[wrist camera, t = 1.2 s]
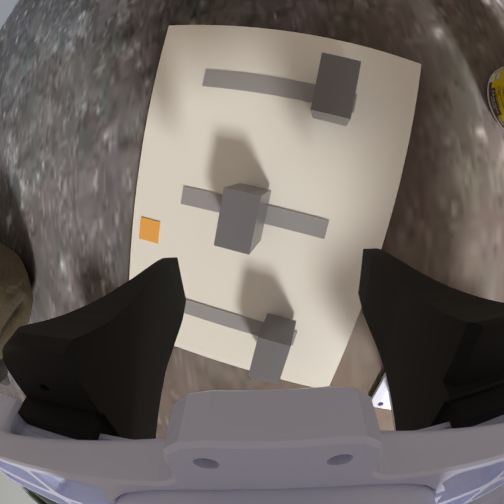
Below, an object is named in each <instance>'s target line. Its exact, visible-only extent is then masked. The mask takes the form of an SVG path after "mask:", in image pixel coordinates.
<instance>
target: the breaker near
mask: <svg viewBox="0 0 504 504" xmlns="http://www.w3.org/2000/svg"><path fill="white" fill-rule="evenodd" d="M360 65H361V61H358V60H354V59H350V58H346V57H341V56H337V55H332V54H328V53H323V52H322V54H321V59H320V64H319V70H318V75H317V80H316V85H315V90H314V95H313V100H312V104H311V109H310V110H311V114H312V117H313V118H314V119H319V120H323V121H327V122H331V123H335V124H339V125H343V126H347V124H348V122H349V121H350V119H351V114H352V109H353V104H354V99H355V94H356V88H357V83H358V77H359V71H360Z"/></svg>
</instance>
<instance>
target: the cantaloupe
mask: <svg viewBox="0 0 504 504" xmlns="http://www.w3.org/2000/svg"><path fill="white" fill-rule="evenodd" d="M32 302H33V295H32V289H31V285H30V281H29V277H28V274H27V271H26V269H25V266H24V264H23V262H22V260H21V258H20V257H19V256H18V255H17V253H16V252H14V251H13V250H12V249H11V248H9V247H8V246H6V245H4V244H3V243H1V242H0V359H2V358H3V356H2V349H3V347H4V345H5V344H6V343H7V341H8V340H9V339H10V337H11V336H12V335H13V334H14V332H15V331H16V330H17V329H18V327H20V326H25V325H28V322H29V319H30V315H31V310H32Z"/></svg>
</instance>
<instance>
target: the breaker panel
mask: <svg viewBox="0 0 504 504" xmlns="http://www.w3.org/2000/svg"><path fill="white" fill-rule="evenodd" d="M322 52H323V53H328V54H332V55H337V56H341V57H346V58H350V59H354V60H358V61H361V65H360V71H359V77H358V83H357V88H356V94H355V99H354V104H353V109H352V114H351V119H350V121H349V122H348V124H347V126H343V125H339V124H335V123H331V122H327V121H323V120H319V119H314V118H313V117H312V114H311V110H310V109H311V104H312V100H313V95H314V90H315V85H316V80H317V75H318V70H319V64H320V59H321V54H322ZM420 72H421V64H419V63H417V62H414V61H411V60H408V59H405V58H402V57H399V56H396V55H393V54H389V53H386V52H383V51H379V50H376V49H372V48H368V47H364V46H361V45H357V44H353V43H348V42H344V41H340V40H335V39H330V38H325V37H320V36H315V35H309V34H303V33H296V32H290V31H282V30H274V29H265V28H255V27H242V26H224V25H169V27H168V31H167V34H166V38H165V42H164V45H163V49H162V53H161V57H160V61H159V65H158V69H157V74H156V78H155V83H154V87H153V92H152V97H151V102H150V107H149V112H148V117H147V122H146V128H145V134H144V140H143V146H142V153H141V159H140V166H139V174H138V181H137V189H136V198H135V207H134V218H133V229H132V241H131V256H130V276H129V280H131V279H132V278H134V277H135V276H136V275H138V274H139V273H141V272H142V271H143V270H145V269H146V268H148V267H149V266H150V265H152V264H153V263H155V262H156V261H158V260H160V259H162V258H172V257H177V258H178V263H179V268H180V273H181V278H182V283H183V288H184V293H185V297H186V305H185V310H184V315H183V320H182V324H181V327H180V330H179V333H178V335H177V338H176V341H175V344H174V346H177V347H180V348H182V349H185V350H188V351H191V352H194V353H197V354H200V355H203V356H205V357H208V358H212V359H215V360H218V361H221V362H224V363H227V364H230V365H233V366H237V367H240V368H243V369H247V370H250V366H251V362H252V359H253V355H254V351H255V347H256V343H257V339H258V336H259V333H260V331H261V328H262V326H263V323H264V321H265V318H266V316H267V313H270V314H273V315H277V316H281V317H284V318H288V319H292V320H296V325H295V329H294V334H293V339H292V343H291V347H290V351H289V354H288V357H287V360H286V363H285V366H284V369H283V372H282V375H281V378H280V379H282V380H286V381H290V382H294V383H298V384H302V385H306V386H310V387H325V386H329V385H330V383H331V380H332V378H333V376H334V374H335V371H336V369H337V367H338V365H339V362H340V360H341V358H342V355H343V353H344V350H345V348H346V346H347V343H348V341H349V338H350V336H351V333H352V331H353V328H354V326H355V323H356V321H357V318H358V315H359V313H360V310H361V307H362V306H361V303H360V299H359V295H358V291H359V283H360V274H361V265H362V255H363V249H372V248H378V249H381V248H382V245H383V242H384V239H385V235H386V232H387V229H388V225H389V222H390V218H391V214H392V211H393V207H394V203H395V200H396V196H397V192H398V188H399V184H400V180H401V175H402V171H403V167H404V162H405V158H406V153H407V149H408V144H409V139H410V134H411V129H412V123H413V118H414V112H415V106H416V100H417V93H418V86H419V79H420ZM238 183H242V184H247V185H251V186H256V187H260V188H264V189H269V190H271V195H270V200H269V204H268V209H267V214H266V218H265V223H264V228H263V232H262V237H261V241H260V242H259V243H258V244H257V246H256V247H255V248H254V249H253V251H252V252H251V253H250V254H249V255H248V254H244V253H240V252H237V251H233V250H229V249H225V248H222V247H218V246H214V241H215V235H216V229H217V223H218V218H219V212H220V206H221V201H222V195H223V190H224V187H227V186H231V185H234V184H238Z"/></svg>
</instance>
